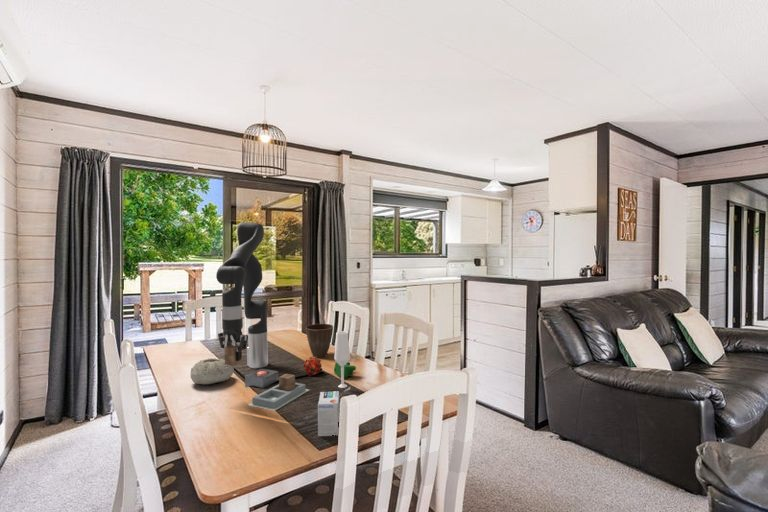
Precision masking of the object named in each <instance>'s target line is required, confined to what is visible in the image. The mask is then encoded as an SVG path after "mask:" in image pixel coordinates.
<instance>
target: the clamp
mask: <svg viewBox="0 0 768 512" xmlns="http://www.w3.org/2000/svg"><path fill="white" fill-rule="evenodd" d="M354 371H357V366H356V365H351V363H350V361H349V362H348V363H347V364H346V365H344V379H347V378H348V377H349V376H350V377H351V376H354V375H353V374H354ZM333 372H334V373H335V374H336V375H337V376H338V377H340V378H341V366H340V365H339V364H338V363H336V362H335V363H334V367H333Z"/></svg>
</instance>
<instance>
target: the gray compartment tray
mask: <svg viewBox="0 0 768 512" xmlns="http://www.w3.org/2000/svg"><path fill="white" fill-rule="evenodd" d="M309 391H310V389H308V388H306V384H305V383H300V382H299V383H298V382H295V388H294V389H293V390H291V391H283V390H279V383H278V384H277V385H275V386H273V387H270V388H268V389H266V390H265V391H263V392H261V393H258V394H257V395H254V396H253V397H252V398H251V399H252V400H251V401H252V402H250V403H248V404H247V406H249V407H255V408H260V409H265V410H269V411H274V412H275V411H278V409H281V408H282V407H284V406H286V405H287V404H288V403H291V402H292V401H294V400H295V399H297V398H298V397H300V396H302V395H304V394H306V393H307V392H309Z"/></svg>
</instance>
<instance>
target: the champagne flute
mask: <svg viewBox="0 0 768 512" xmlns="http://www.w3.org/2000/svg"><path fill="white" fill-rule="evenodd" d="M349 343H350V342H349V335H348V331H346V330H345V331H344V330H343V331H341V330H340V331H337V332H336V333H335V344H334V345H335V347H334V356H333V357H334V361H335V363H338V364H339V365H340V366H341V377H340V378H341V380H340V381H341V383H340V384H339V385H338V386H337V387H338V388H340V389H343V388H345V389H344V390H343V392H347V391H349V390H351V386H348V385H347V384H346V383H345V378H344V365H346V364H347V363H348V362H349V363H350V360H351V352H350V344H349Z"/></svg>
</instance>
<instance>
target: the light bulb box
mask: <svg viewBox="0 0 768 512" xmlns="http://www.w3.org/2000/svg"><path fill="white" fill-rule="evenodd" d="M338 422H339V423H340V391H338V390H337V391H335V390H334V391H320V392H319V398H318V402H317V437H335V435H336V436H338V435H339V428H338ZM332 435H334V436H332Z"/></svg>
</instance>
